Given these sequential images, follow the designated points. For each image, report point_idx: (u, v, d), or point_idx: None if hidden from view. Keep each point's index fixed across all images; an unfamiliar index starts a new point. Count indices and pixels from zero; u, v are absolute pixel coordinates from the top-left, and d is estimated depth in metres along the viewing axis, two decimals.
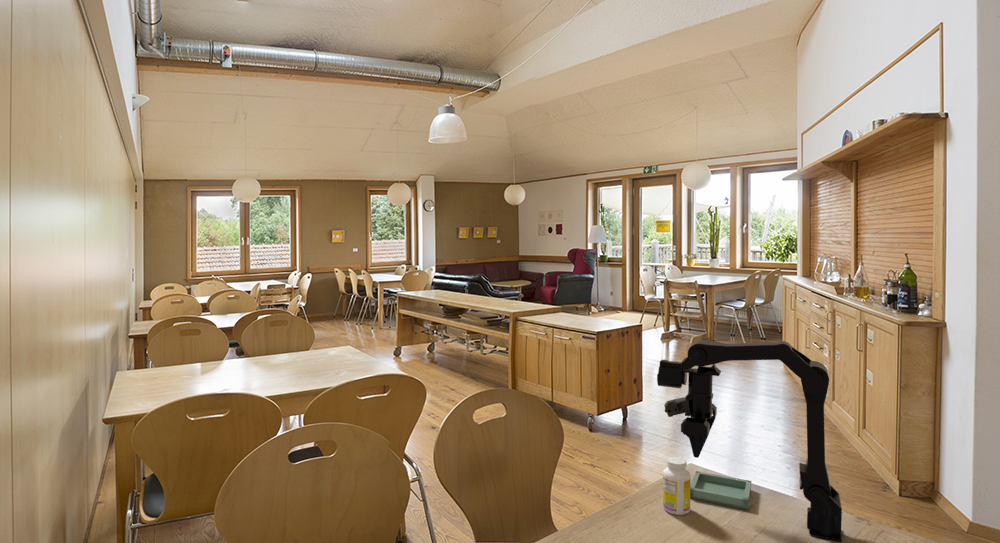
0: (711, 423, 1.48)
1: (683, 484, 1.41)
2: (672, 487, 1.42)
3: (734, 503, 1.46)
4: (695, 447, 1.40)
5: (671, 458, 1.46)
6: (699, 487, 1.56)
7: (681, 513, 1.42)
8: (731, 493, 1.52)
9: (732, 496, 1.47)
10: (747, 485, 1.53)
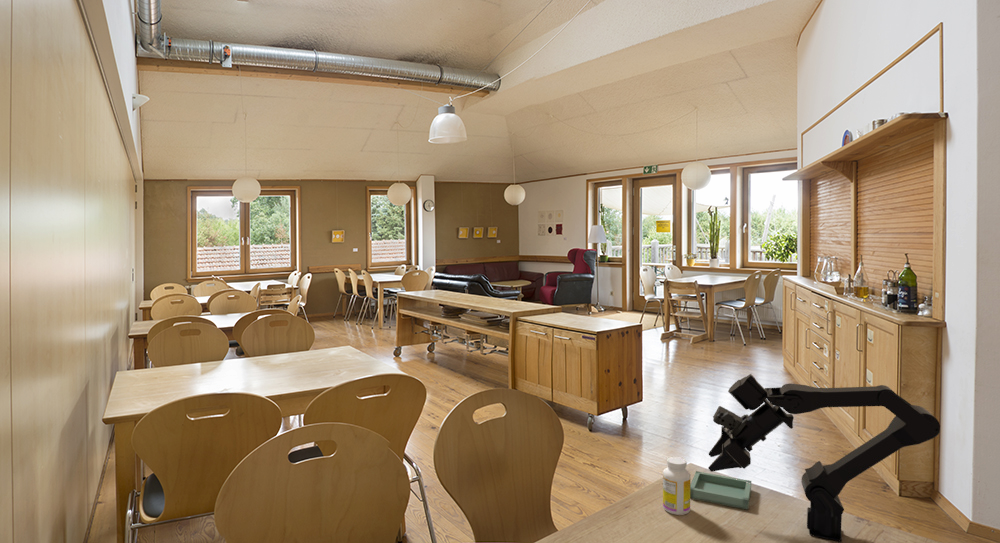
0: None
1: (683, 484, 1.41)
2: (672, 487, 1.42)
3: (734, 503, 1.46)
4: (718, 464, 1.35)
5: (671, 458, 1.46)
6: (699, 487, 1.56)
7: (681, 513, 1.42)
8: (731, 493, 1.52)
9: (732, 496, 1.47)
10: (747, 485, 1.53)
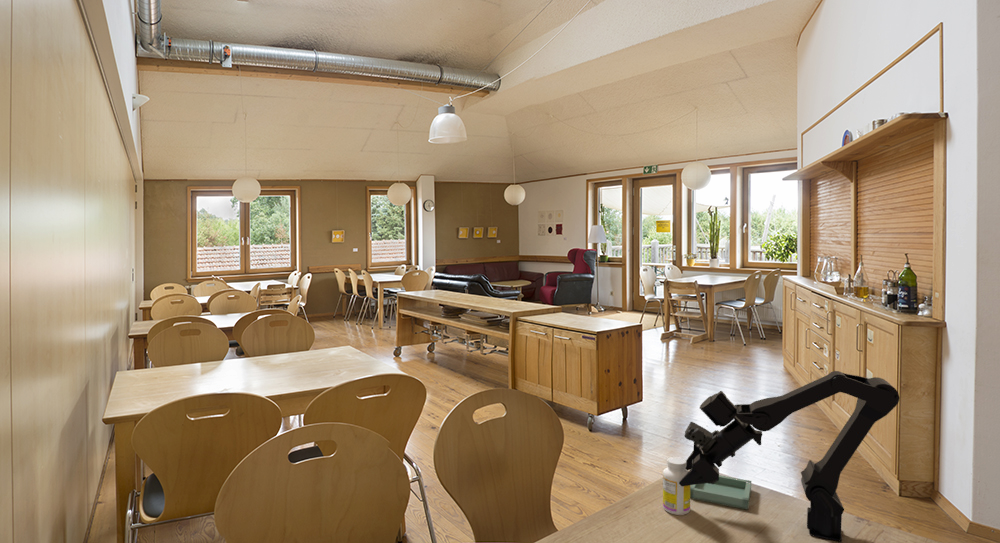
0: None
1: None
2: (672, 487, 1.42)
3: (734, 503, 1.46)
4: (688, 479, 1.38)
5: (671, 458, 1.46)
6: (699, 487, 1.56)
7: (681, 513, 1.42)
8: (731, 493, 1.52)
9: (732, 496, 1.47)
10: (747, 485, 1.53)
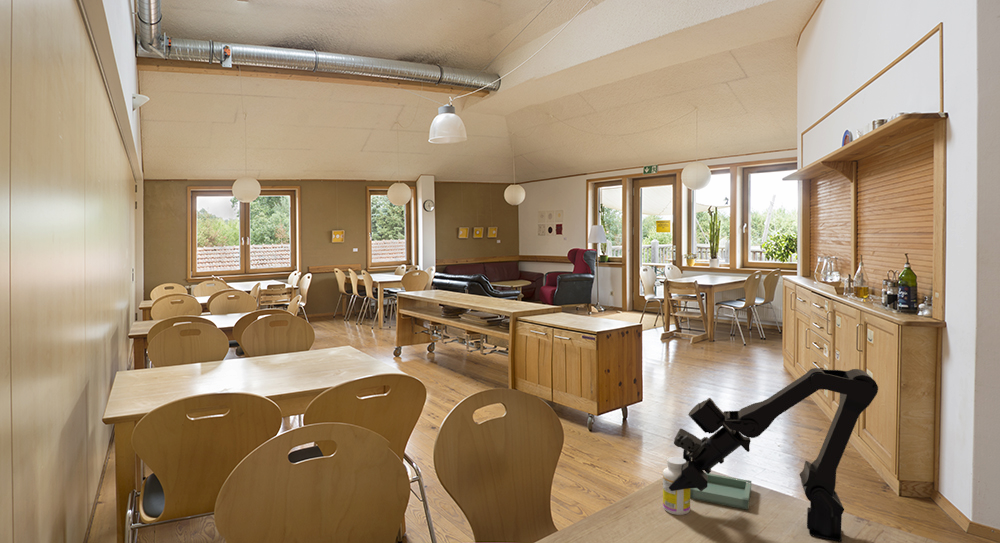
0: None
1: None
2: None
3: (734, 503, 1.46)
4: (678, 484, 1.40)
5: (671, 458, 1.46)
6: None
7: (681, 513, 1.42)
8: (731, 493, 1.52)
9: (732, 496, 1.47)
10: (747, 485, 1.53)
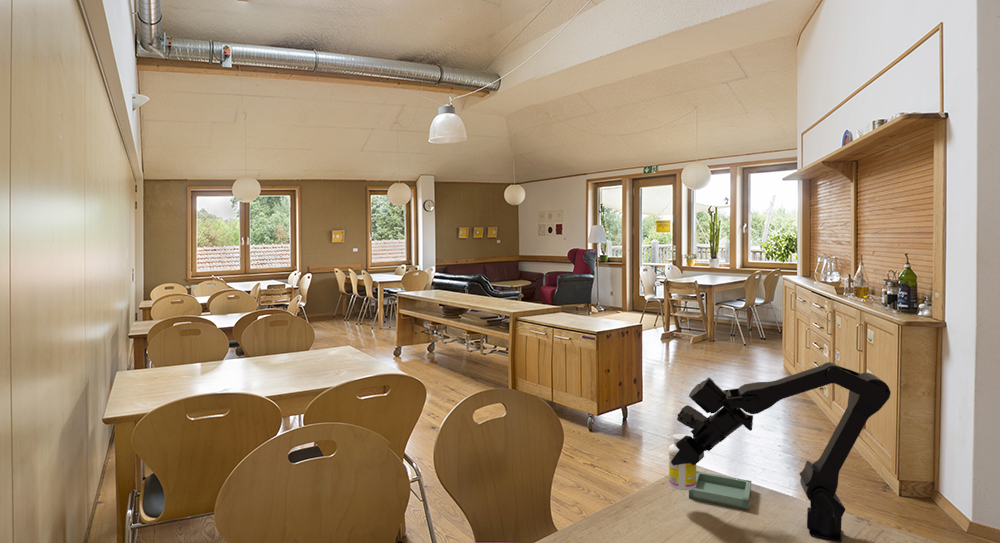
0: (705, 449, 1.46)
1: None
2: None
3: (734, 503, 1.46)
4: (678, 458, 1.42)
5: (678, 434, 1.47)
6: (699, 487, 1.56)
7: (683, 488, 1.43)
8: (731, 493, 1.52)
9: (732, 496, 1.47)
10: (747, 485, 1.53)
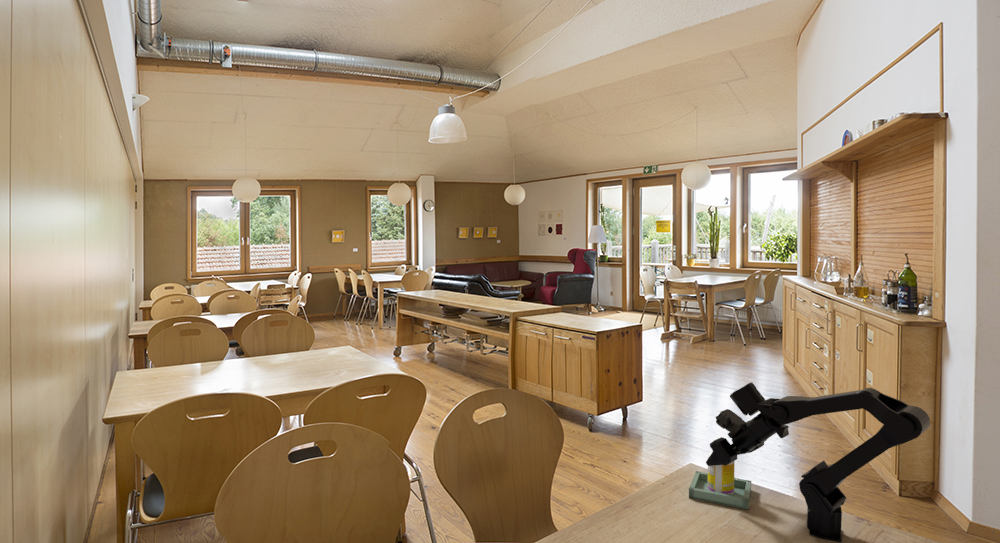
0: (746, 451, 1.52)
1: (721, 467, 1.50)
2: (712, 468, 1.51)
3: (734, 503, 1.46)
4: (712, 459, 1.49)
5: None
6: (699, 487, 1.56)
7: None
8: None
9: (732, 496, 1.47)
10: (747, 485, 1.53)
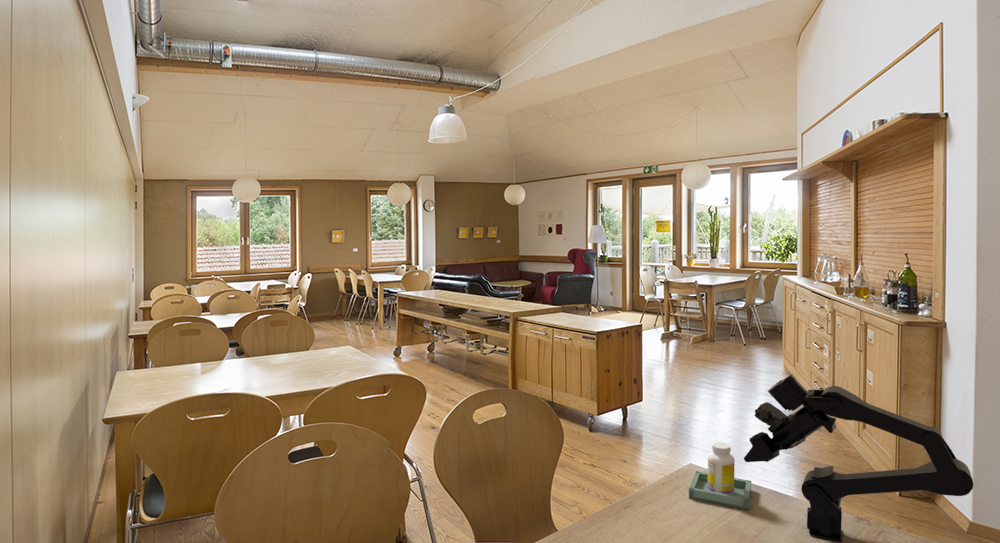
0: None
1: (721, 467, 1.50)
2: (712, 468, 1.51)
3: (734, 503, 1.46)
4: (751, 455, 1.40)
5: (718, 443, 1.54)
6: (699, 487, 1.56)
7: None
8: None
9: (732, 496, 1.47)
10: (747, 485, 1.53)
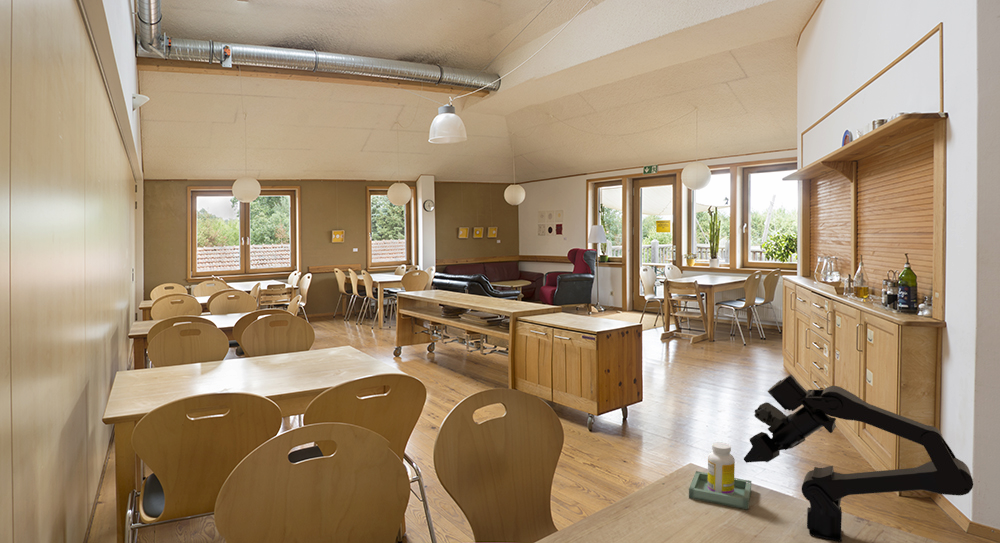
0: None
1: (722, 467, 1.49)
2: (712, 468, 1.51)
3: (734, 503, 1.46)
4: (750, 456, 1.40)
5: (718, 443, 1.54)
6: (699, 487, 1.56)
7: None
8: None
9: (732, 496, 1.47)
10: (747, 485, 1.53)
